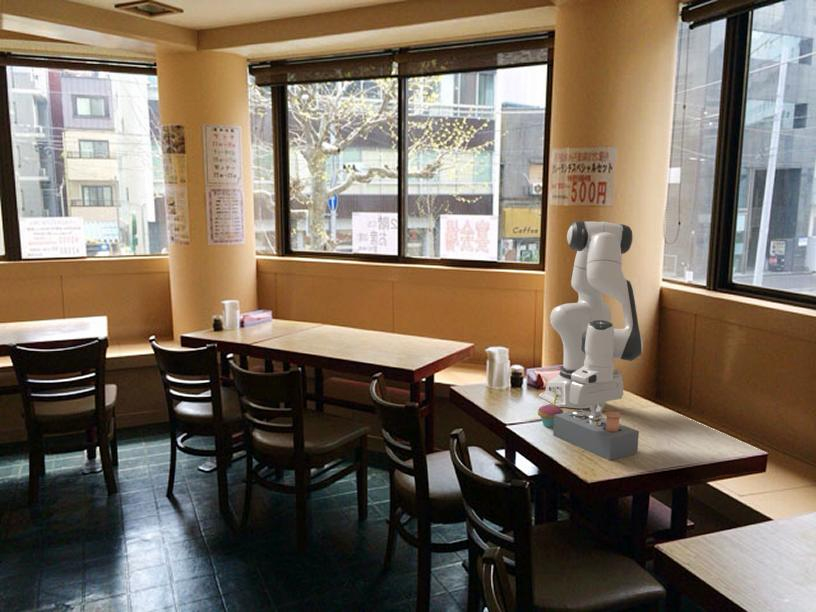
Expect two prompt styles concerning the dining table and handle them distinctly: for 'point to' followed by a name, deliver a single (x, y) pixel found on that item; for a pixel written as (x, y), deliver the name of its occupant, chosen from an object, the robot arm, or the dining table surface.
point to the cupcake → (549, 413)
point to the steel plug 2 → (595, 420)
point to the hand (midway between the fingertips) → (596, 416)
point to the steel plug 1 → (578, 414)
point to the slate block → (596, 436)
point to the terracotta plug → (612, 421)
